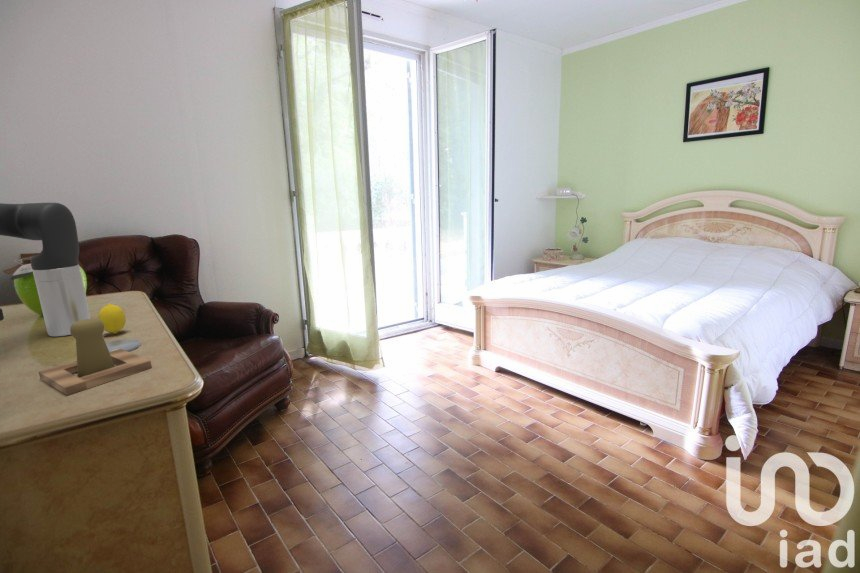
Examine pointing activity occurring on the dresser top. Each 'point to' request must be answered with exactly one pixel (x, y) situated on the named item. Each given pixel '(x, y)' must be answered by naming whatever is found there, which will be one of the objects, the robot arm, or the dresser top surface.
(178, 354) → the dresser top surface
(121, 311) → the lemon
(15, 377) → the dresser top surface
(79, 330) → the cork
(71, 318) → the robot arm
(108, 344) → the slate coaster
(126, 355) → the walnut board
